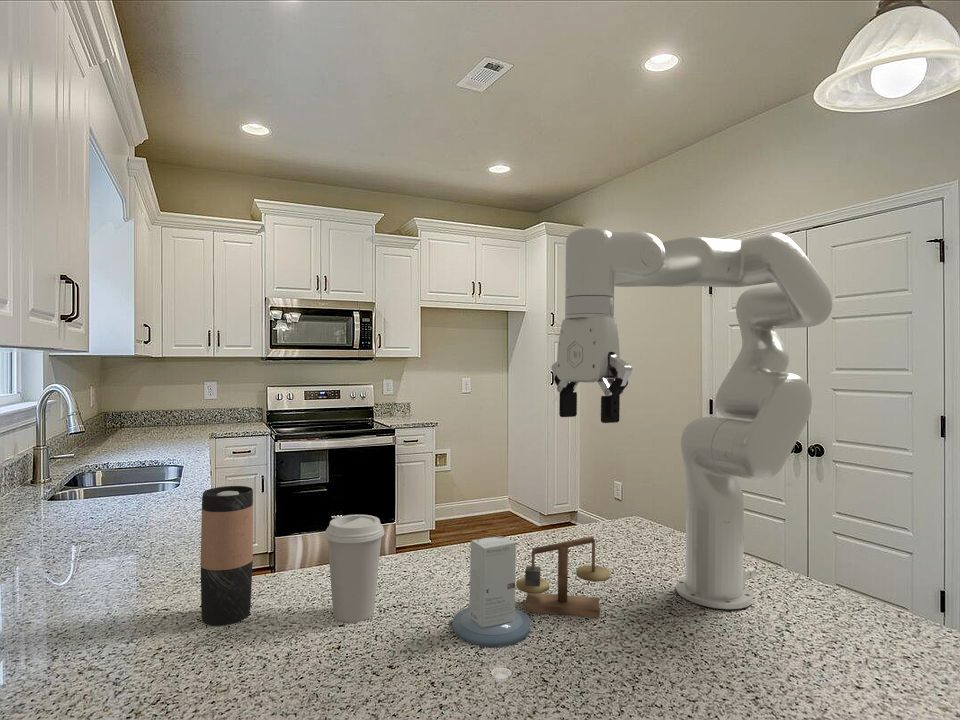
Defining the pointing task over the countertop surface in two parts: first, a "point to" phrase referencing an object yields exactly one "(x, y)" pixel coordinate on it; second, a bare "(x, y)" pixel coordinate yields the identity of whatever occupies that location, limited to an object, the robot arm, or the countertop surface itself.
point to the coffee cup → (354, 565)
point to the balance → (561, 584)
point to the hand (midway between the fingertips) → (588, 419)
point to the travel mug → (226, 554)
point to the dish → (491, 630)
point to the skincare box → (492, 581)
